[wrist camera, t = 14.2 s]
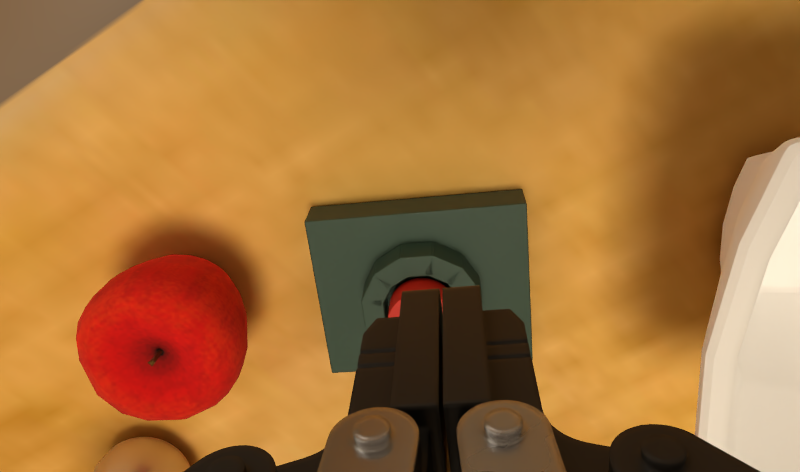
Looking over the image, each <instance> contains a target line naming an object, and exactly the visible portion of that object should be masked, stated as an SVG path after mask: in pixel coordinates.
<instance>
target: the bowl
mask: <svg viewBox="0 0 800 472" xmlns="http://www.w3.org/2000/svg"><path fill="white" fill-rule="evenodd" d="M720 266H721V275H720V279H719V283H718V287H717V291H716V295H715V299H714V303H713V307H712V311H711V315H710V319H709V323H708V327H707V331H706V335H705V339H704V343H703V347H702V355H701V367H700V379H699V391H698V403H697V415H696V427H695V436H697V437H699V438H701V439H703V440H704V441H706V442H708V443H710V444H712V445H713V446H715V447H717V448H719V449H721V450H722V451H724V452H726V453H728V454H730V455H731V456H733V457H735V458H737V459H739V460H740V461H742V462H744V463H746V464H748V465H749V466H751V467H753V468H755V469H757V470H758V471H760V472H800V137H798V138H793V139H790V140H788V141H785V142H783V143H782V144H781V145H780V146H779V147H778V148H776V149H775V150H774V151H773V152H768V153H764V154H760V155H755V156H752V157H749V158H747V160H746V162H745V164H744V166H743V168H742V170H741V172H740V174H739V176H738V179H737V181H736V183H735V185H734V187H733V191H732V194H731V198H730V201H729V205H728V208H727V212H726V215H725V219H724V222H723V230H722V240H721V251H720Z"/></svg>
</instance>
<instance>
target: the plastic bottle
mask: <svg viewBox="0 0 800 472" xmlns="http://www.w3.org/2000/svg"><path fill="white" fill-rule="evenodd" d="M189 467H190V465H189V463H188V461H187V459H186V457H185V456H184V455H183V453H182V452H181V451H179V450H178V449H177V448H176V447H175V446H173V445H172V444H170V443H168V442H166V441H164V440H161V439H158V438H154V437H135V438H131V439H128V440H125V441H122V442H120V443H118V444H117V445H115V446H113V447H112V449H111V450H110V451H109V452H108V453H107V454H106V455H105V456H104V457H103V458H102V459H101V461H100V462H99V463H98V464H97V465H96V467H95V469H94V472H183V471H185V470H186V469H188V468H189Z"/></svg>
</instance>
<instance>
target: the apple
mask: <svg viewBox="0 0 800 472" xmlns="http://www.w3.org/2000/svg"><path fill="white" fill-rule="evenodd" d="M76 341H77V348H78V354H79V360H80V362H81V364H82V366H83V368H84V370H85V372H86V374H87V376H88V378H89V380H90V382H91V384H92V386H93V387H94V389H95V391H96V393H97V395H98V396H100V397H101V398H102V399H104V400H105V401H106V402H108V403H109V404H110V405H112V406H113V407H114V408H116V409H117V410H118V411H120V412H121V413H123V414H126V415H130V416H134V417H137V418H141V419H144V420H148V421H151V420H179V419H187V418H189V417H191V416H193V415H195V414H198V413H200V412H202V411H204V410H206V409H208V408H210V407H212V406H215V405H216V404H217V403H218V402H219V401H220V400H221V399H223V398H224V397H225V396H226V395H227V394H228V393H229V391H230V389H231V388H232V386H233V385H234V383H235V382H236V380H237V379H238V377H239V374H240V372H241V369H242V366H243V363H244V359H245V355H246V351H247V316H246V311H245V307H244V304H243V301H242V298H241V295H240V293H239V291H238V290H237V288H236V286H235V285H234V283H233V282H232V280H231V279H230V277H229V276H228V274H227V273H225V272H224V271H223V270H222V269H221V268H220V267H219V266H217V265H216V264H214V263H212V262H210V261H208V260H206V259H203V258H199V257H195V256H191V255H174V254H172V255H168V256H164V257H159V258H155V259H152V260H149V261H146V262H143V263H141V264H138V265H135V266H133V267H131V268H129V269H127V270H125V271H124V272H122V273H120V274H118V275H117V276H115V277H114V278H113V279H111V280H110V281H109V282H108V283H107V284H106V285H105V286H104V287H103V288H102V289H100V290H99V291H98V292H97V293H96V294H95V295H94V296H93V297H92V299H91V300H90V302H89V303H88V305H87V306H86V307H85V309H84V311H83V313H82V315H81V317H80V319H79V321H78V326H77V335H76Z"/></svg>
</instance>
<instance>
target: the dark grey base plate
mask: <svg viewBox="0 0 800 472" xmlns="http://www.w3.org/2000/svg"><path fill="white" fill-rule="evenodd" d="M305 227H306V233H307V238H308V243H309V249H310V254H311V260H312V265H313V271H314V276H315V282H316V287H317V293H318V298H319V304H320V309H321V315H322V320H323V325H324V331H325V336H326V342H327V347H328V353H329V358H330V364H331V369H332V373H338V372H354V371H356V370H357V369H358V366H357V364H358V359H359V354H360V348H361V343H362V338H363V334H364V332H365V331H366V330H367V329H368V328H369V327H370V326H371V324H372V323H373V322H374V321H375V320H376V319H377V318H388V313H389V305H390V299H391V297H392V294H393V293H394V291H395V290H396V289H397V288H398V287H399V286H400V285H401V284H403V283H404V282H406V281H409V280H411V279H416V278H428V279H432V280H435V281H438V282H440V283H441V284H443V285H444V286H445V287H447V288H449V287H463V286H476V285H480V292H481V301H482V310H483V311H484V310H498V309H511V310H512V311H513V312H514V313H515V314H516V315H517V316H518V317H519V318H520V319H521V320H522V321H523V322H524V324H525V329H526V334H527V339H528V344H529V348H530V353H531V358H532V333H531V307H530V281H529V254H528V228H527V204H526V201H525V197H524V194H523V191H522V189H518V190H506V191H494V192H482V193H471V194H459V195H447V196H436V197H424V198H412V199H400V200H389V201H377V202H365V203H354V204H342V205H330V206H318V207H311V209H310V211H309V214H308V216H307V218H306V220H305Z"/></svg>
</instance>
